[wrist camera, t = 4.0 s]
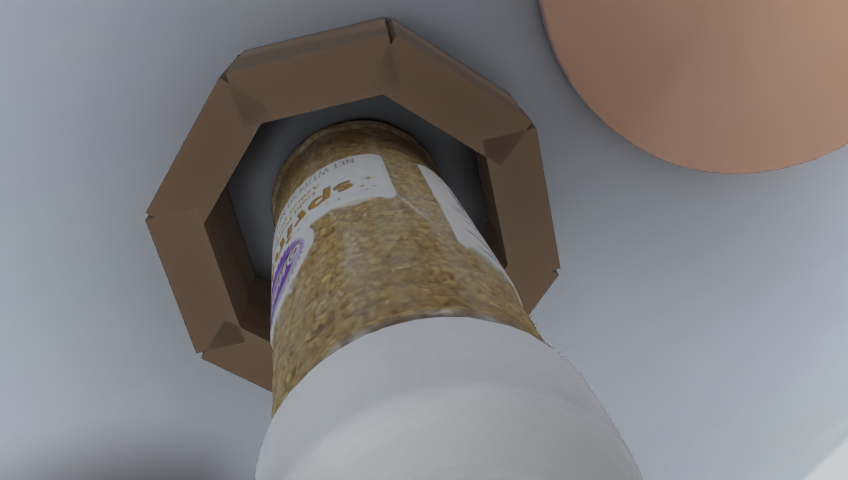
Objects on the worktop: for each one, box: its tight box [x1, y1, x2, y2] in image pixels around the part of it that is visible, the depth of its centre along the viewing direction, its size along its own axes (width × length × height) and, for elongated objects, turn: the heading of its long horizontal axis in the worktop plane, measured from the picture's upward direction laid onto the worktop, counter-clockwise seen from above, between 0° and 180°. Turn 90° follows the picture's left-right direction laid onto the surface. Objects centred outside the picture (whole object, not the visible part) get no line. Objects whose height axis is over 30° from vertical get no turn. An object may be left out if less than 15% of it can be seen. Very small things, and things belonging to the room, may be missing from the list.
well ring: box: [146, 17, 560, 392], centre depth 20 cm, size 9×9×3 cm
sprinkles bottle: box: [255, 120, 642, 480], centre depth 15 cm, size 5×5×13 cm
